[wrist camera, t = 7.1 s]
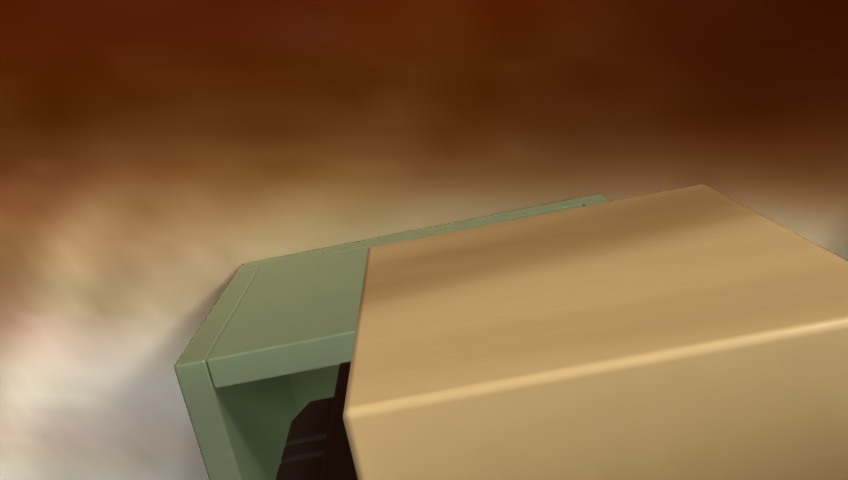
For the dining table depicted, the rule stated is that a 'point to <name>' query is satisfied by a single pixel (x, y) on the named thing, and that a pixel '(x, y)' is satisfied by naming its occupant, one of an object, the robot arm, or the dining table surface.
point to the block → (604, 349)
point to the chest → (284, 346)
